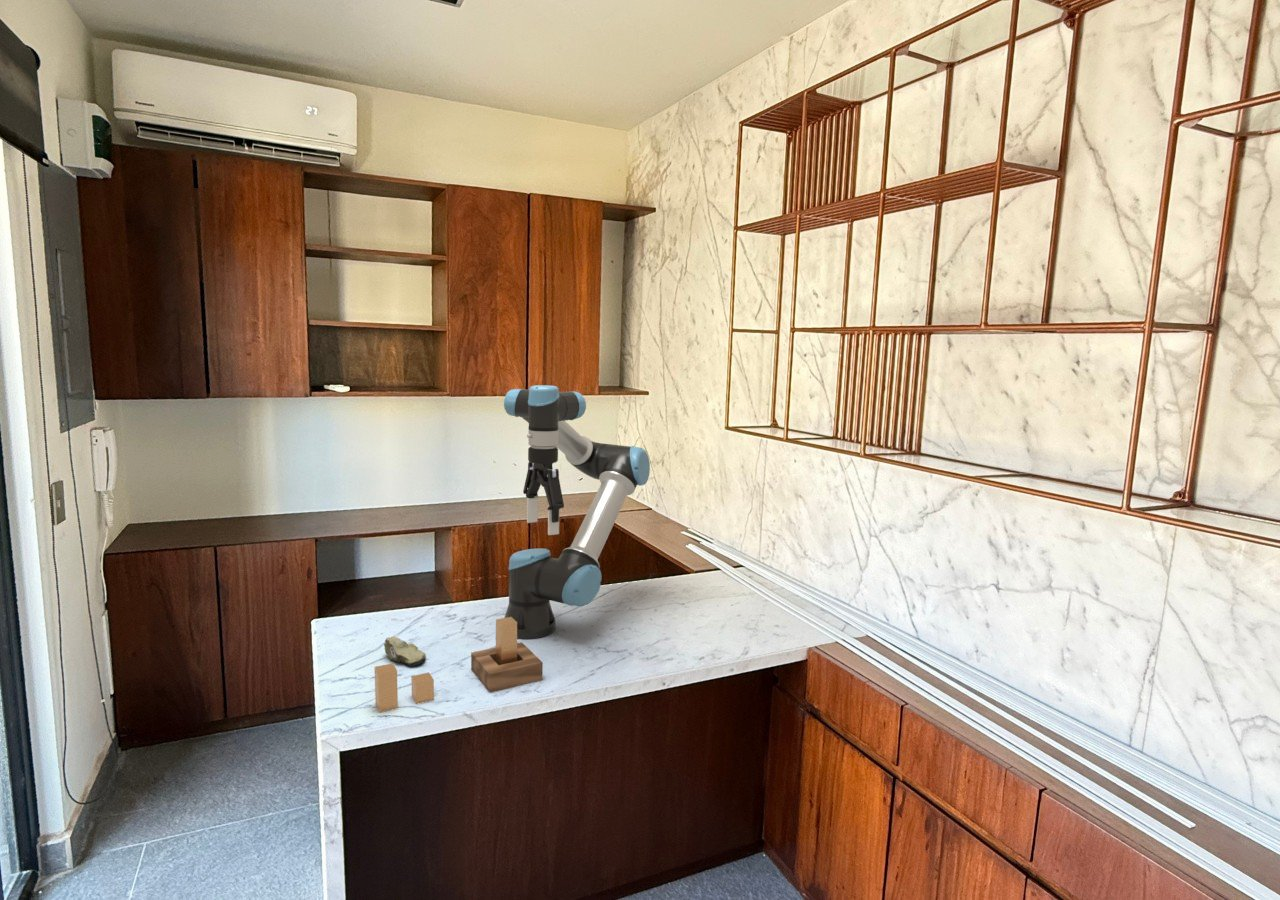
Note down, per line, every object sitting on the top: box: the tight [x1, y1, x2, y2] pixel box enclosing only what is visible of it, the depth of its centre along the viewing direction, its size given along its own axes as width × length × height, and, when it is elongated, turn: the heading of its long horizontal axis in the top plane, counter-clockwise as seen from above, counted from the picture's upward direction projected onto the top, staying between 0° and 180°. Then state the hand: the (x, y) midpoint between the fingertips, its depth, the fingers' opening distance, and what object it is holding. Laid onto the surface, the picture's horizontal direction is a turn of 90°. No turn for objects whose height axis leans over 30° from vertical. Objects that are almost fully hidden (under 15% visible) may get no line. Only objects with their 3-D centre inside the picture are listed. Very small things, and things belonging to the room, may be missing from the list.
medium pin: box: [374, 663, 399, 713], centre depth 155 cm, size 4×4×9 cm
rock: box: [384, 636, 427, 667], centre depth 178 cm, size 11×6×10 cm
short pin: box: [411, 672, 435, 705], centre depth 159 cm, size 4×4×5 cm
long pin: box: [495, 617, 518, 665], centre depth 171 cm, size 4×4×14 cm
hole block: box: [470, 641, 544, 693], centre depth 172 cm, size 14×14×4 cm
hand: (542, 528), depth 179 cm, fingers open, 13 cm apart
